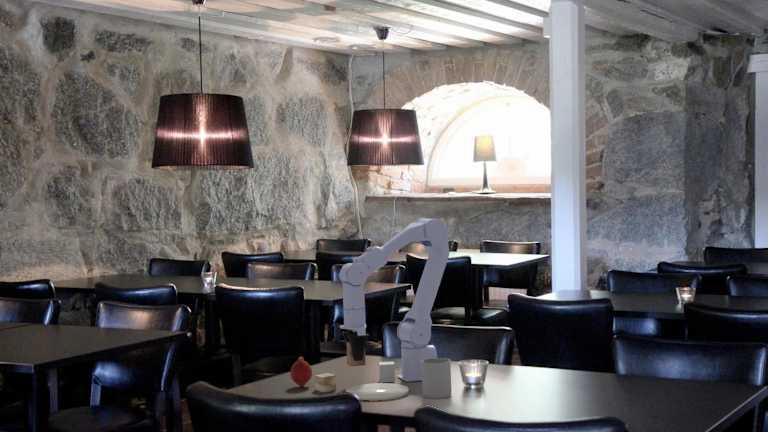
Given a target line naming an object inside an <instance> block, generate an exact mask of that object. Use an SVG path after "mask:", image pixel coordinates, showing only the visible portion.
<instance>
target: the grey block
mask: <svg viewBox="0 0 768 432" xmlns="http://www.w3.org/2000/svg"><path fill="white" fill-rule="evenodd" d="M378 363H379V364H378V365H379V383H381V382H395V383H396V375H395V374H396V373H395V371H396V370H395V369H396V368H395V361H379V362H378Z"/></svg>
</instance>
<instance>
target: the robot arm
mask: <svg viewBox="0 0 768 432" xmlns="http://www.w3.org/2000/svg"><path fill="white" fill-rule="evenodd" d="M449 233H450V231H449V229H448V227H447V225H446V224H445V222H444V221H443V220H441V219H440V218H424V217H422V218H421V217H420V218H418V219H416V220H415V221H414V222H411V223H409V224H408V225H407V226H406V227H405V228H404V229H402V230H401V231H400V232H398V233H397V234H396V235H394V236H393V237H391V239H390V240H388V241H387V242H385V243H384V244H383V245H382V246H376V245H375V246H368V247H367V248H366V249H365V250H366V251H365V252H363V254H361V255H360V256H358V257H354V258H352V262H350V263H349V262H348V263H345V264H344V265H343V266H342V267H341V269H340V270H339V273H338V278H339V280H340V282H341V283H342V302H343V303H342V305H343V325H342V324H341V325H339V328H340V329H344V330H347V331H342V332H341V335H342V336H343V339H344V341H345V343H346V342H350V344H351V347H352V353H353V358H354V361H361V360H363V355H364V349H365V350H366V344H367V341H368V340H369V337H370V334H368V333H366V332H367V331H366V328H367V324H366V301H365V297H366V296H365V283H366V281H367V279H368V278H369V277H370V276H371V275H373V274H374V273H375V272H377V271H378V270H379V269H382V267H383V266H385V265H386V264H387V263H388V260H389V257H390V256H391V255H393V254H395V253H397V252H398V251H400V250H401V249H403V248H404V247H406V246H408V245H409V244H410V243H413V242H418V243H421V245H422V246H423V247H424V248H425V251H426V252H427V254H428V256H427V258H426V262H425V265H424V269H423V271H422V275H421V277H420V281H419V284H418V287H417V289H416V290H417V291H416V293H415V296H414V299H413V303H412V305H411V308H410V309H409V310H408V311H407V313H405V315H404V318H403V320H402V321H401V322H400V323H399V324H398V326H397V330H396V335H397V337H398V339H399V340H400V341H401V344H400V346H401V347H400V348H401V349H400V350H401V352H400V353H401V372H402V373H401V374H398V375H397V378H399V379H401V380H402V381H404V382H406V383H407V382H418V381H422V365H421V361H422V360H424V359H431V358H438V352H437V348H436V346H435V345H434V344H429V342H430V340H431V337H432V324H433V321H432V318H431V312H432V308H433V306H434V302H435V299H436V297H437V293H438V292H439V291H438V290H439V287H440V285H441V282H442V279H443V275H444V272H445V269H446V267H447V263H448V261H449V260H448V259H449V256H450V246H449V245H450V244H449V238H448V236H449ZM428 344H429V345H428Z"/></svg>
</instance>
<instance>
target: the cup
mask: <svg viewBox="0 0 768 432" xmlns="http://www.w3.org/2000/svg"><path fill="white" fill-rule="evenodd" d="M421 365H422V380H421V385H422V386H421V390H422V391H421V392H422V397H423V398H424V399H428V400H441V399H448V398H450V397H452V371H451V370H452V369H451V367H452V366H451V365H452V363H451V359H450V358H442V357H437V358H431V359H424V360H422V361H421Z"/></svg>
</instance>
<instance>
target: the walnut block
mask: <svg viewBox="0 0 768 432" xmlns="http://www.w3.org/2000/svg"><path fill="white" fill-rule="evenodd" d="M345 344H346V364H347V365H348V366H349V367H361V366H366V348H365V349H364V355H363V360H361V361H354V358H353V353H352V347H351V344H350V342H346V341H345Z"/></svg>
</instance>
